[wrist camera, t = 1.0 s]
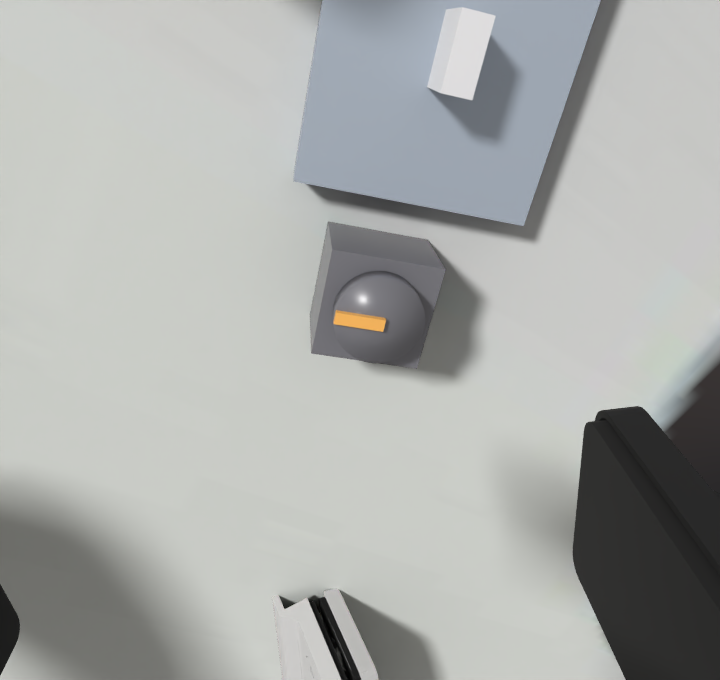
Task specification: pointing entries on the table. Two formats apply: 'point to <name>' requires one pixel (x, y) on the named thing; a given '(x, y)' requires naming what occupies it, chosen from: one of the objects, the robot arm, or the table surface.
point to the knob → (374, 296)
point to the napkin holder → (321, 641)
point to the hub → (440, 99)
